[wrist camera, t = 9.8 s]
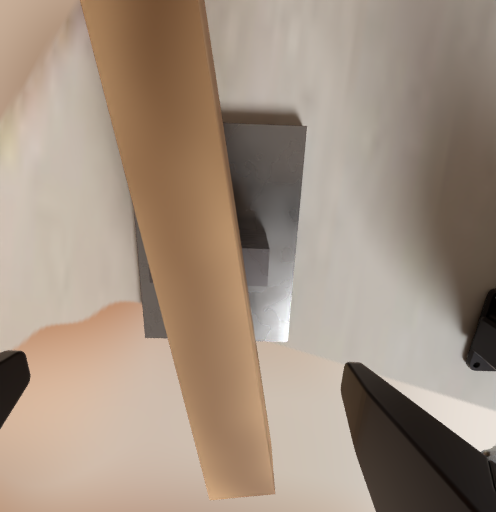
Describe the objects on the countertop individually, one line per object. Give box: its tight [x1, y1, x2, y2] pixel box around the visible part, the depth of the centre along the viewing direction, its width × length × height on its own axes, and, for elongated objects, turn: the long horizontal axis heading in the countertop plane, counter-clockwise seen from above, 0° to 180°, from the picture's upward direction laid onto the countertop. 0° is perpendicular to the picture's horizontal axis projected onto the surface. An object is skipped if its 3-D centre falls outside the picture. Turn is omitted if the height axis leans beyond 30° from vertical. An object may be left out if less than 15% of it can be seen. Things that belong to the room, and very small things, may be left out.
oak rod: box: [80, 0, 275, 500], centre depth 13 cm, size 4×24×3 cm, turn 8°
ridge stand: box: [134, 123, 307, 342], centre depth 17 cm, size 10×14×5 cm
